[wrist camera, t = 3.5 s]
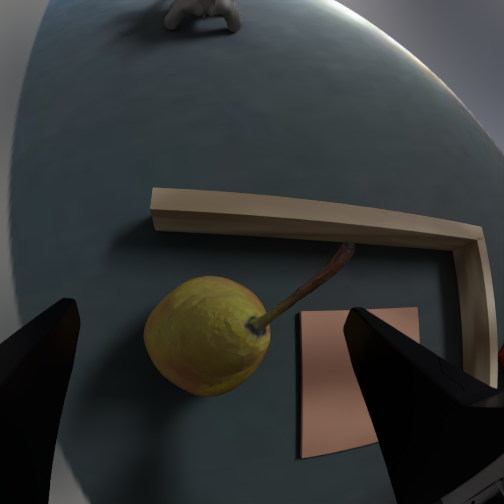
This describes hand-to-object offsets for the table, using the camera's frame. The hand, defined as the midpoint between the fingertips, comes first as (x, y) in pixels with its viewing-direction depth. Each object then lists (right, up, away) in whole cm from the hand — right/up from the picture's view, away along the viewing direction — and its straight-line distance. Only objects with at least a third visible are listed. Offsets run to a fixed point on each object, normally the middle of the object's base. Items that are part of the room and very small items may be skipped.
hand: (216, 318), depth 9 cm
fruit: (-2, -3, +7) cm, 8 cm away
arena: (+7, -5, +8) cm, 12 cm away
